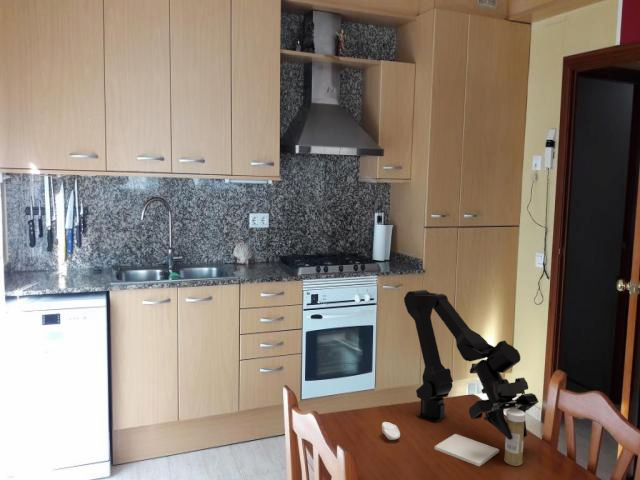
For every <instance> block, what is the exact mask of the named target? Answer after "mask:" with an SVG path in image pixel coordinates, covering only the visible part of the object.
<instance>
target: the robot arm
mask: <svg viewBox="0 0 640 480" xmlns="http://www.w3.org/2000/svg"><path fill="white" fill-rule="evenodd" d="M448 298H449V297H448V296H447V295H446V294H444V293H437V292H430V291H428V290H426V289H420V290H411V291H407V292H406V294H405V296H404V297H403V302H404V305H405V307H406V311H407V313H408V314H409V316H410V317H411V318H412V319H413V320H414V323H415V328H416V333H417V336H418V341H419V345H420V350H421V355H422V359H423V364H424V370H423V373H422V377H421V378H422V385H421V386H419V387H418V388H417V389H416V390H415V391H416V392H415V393H416V397H417V399H420V408H419V409H420V410H419V411H420V412H419V413H417V415H416V416H417V417H419V418H422V419H424V420H427V421H430V422H433V423H437V422H439V421H441V420H442V419H444V418H446V416H447V415H446V414H445V413H446V412H445V411H446V410H445V409H446V404H445V398H448V397H449V394H450V392H451V391H452V388H453V382H454V380H453V378H452V374H451V369H450V368H445V366H444V365H443V364H442V362H441V357H440V352H439V348H438V344H437V340H436V339H437V338H436V335H435V331H434V326H433V322H432V314H433V310H434V311H435V313H436V315H437V316H438V317H439V318H440V320H441V321H442V322H443V323H444V325H445V326H446V328H447V329H448V330H449V331H450V333H451V334H452V336H453V337H454V339H455V345H456V348H457V350H458V352H459V354H460V356H461V357H462V359H463V360H465V361H466V362H473V361H478V360H480V361H478V362H475V363H472V364H471V367H470V369H469V373H470V374H476V375H477V378H478V379H479V381H480V384H481V386H482V389H481V391H480V392H481V393H482V394H483V395H484V394H486V397H487V399H481V400H477V401H476V402H474V403H473V405H471V406H470V407H469V409H468V414H469V416H470V418H471V420H477V419H481V418H482V416H483V413H484V414H485V417H484V418H483V421H485V422H486V421H487V422H488V423H490V424H491V425H492V426H493V427H495V428H496V429H497V430H498V431H499V432H500V433H501V434H502V435H503V436H505V438H506V437H507V438H508V439H509V440H511V439H512V438H513V437H512V434H511V432H510V429H509V427H508V425H507V419H506V418H505V412H504V411H505V410H508V409H518V410H521V411H523V412H525V413H526V411H529V410H530V409H532V408H533V407H534V406H535V405H537V404H539V402H540V401H539V399H538V398H537V396H536V394H534V393H533V392H532V393H531V392H530V393H526V390H527V391H528V389H529V385H528V384H529V383H528V381H527V380H526V378H525V377H524V376H523V377H518V378H515V380H514V382H509V380H508V379H507V378H503V376H502V374H505V373H506V372H507V371H509V370H510V369H512V368H513V367H514V366H515V365H517V364H518V363H520V361H521V354H520V352H519V350H518V349H516V348H515V347H514V346H513V345H512V344H509V343H507V341H506V340H500V341H498V342H497V344H496V345H495V346H494V345H492V344H489V343H488V341H487V340H486V339H485V338H484V337H482V336H481V334H479V333H477V332H476V331H474V330H472V329H471V328H470V327H469V326H468V324H467V323H466V322H465V320H463V318H462V316H461V315H460V313H458V311H457V310H456V309H455V307H453V305H452V304H451V302H450V301H449V299H448ZM517 395H519V396H517ZM516 397H517V398H516ZM515 398H516V399H515ZM527 436H528V433H527V423H526V421H525V422H524V436H523V438H526V437H527Z"/></svg>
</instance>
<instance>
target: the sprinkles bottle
mask: <svg viewBox="0 0 640 480" xmlns="http://www.w3.org/2000/svg"><path fill="white" fill-rule="evenodd" d="M505 417H506V418H505V419H506V423H507V425H508V427H509V429H510V432H511V434H512V437H513V438H512V439H511V440H509V439H508V438H507V437H506V436H505V441H504V451H505V452H504V458H503V460H504V462H505V463H506V464H508V465H510V466H515V467H518V466H521V465H522V464H523V463H524V461H523V454H524V453H523V452H524V437H523V436H524V422H526V412H523V411H521V410H518V409H506V414H505Z"/></svg>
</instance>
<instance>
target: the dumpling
mask: <svg viewBox="0 0 640 480" xmlns="http://www.w3.org/2000/svg"><path fill="white" fill-rule="evenodd" d="M381 429H382V433H383V434H384V435H385V436H386V438H387V439H388V440H390V441H395V440H397V439H399V438H400V437H401V432H400V429H399V428H398V426H397V425H396V424H393V423H391V422H388V421H383V422H382V423H381Z"/></svg>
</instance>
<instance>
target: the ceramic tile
mask: <svg viewBox="0 0 640 480" xmlns="http://www.w3.org/2000/svg"><path fill="white" fill-rule="evenodd" d="M434 450H436V451H438V452H441V453H442V454H446V455H449V456H451V457H453V458H456V459H458V460H461V461H464V462H467V463H469V464H472V465H474V466H477V467H479V468H480V467H481V466H482V465H484V464H486V462H488V461H489V460H490V459H492V458H493V457H494V456H496V455H497V454H498V453H499V452H500V449H499V448H496V447H494V446H490V445H488V444H486V443H482V442H479V441H478V440H477V441H476V440H475V439H471V438H470V437H469V438H468V437H465V436H464V435H463V436H462V435H461V434H457V433H454V434H453V435H451V436H448V438H445V439H444V440H442V441H440V442H439V443H438V444H436V445H434Z"/></svg>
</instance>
